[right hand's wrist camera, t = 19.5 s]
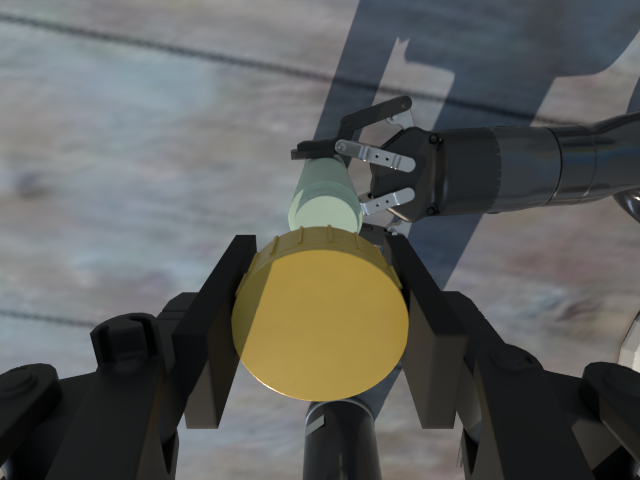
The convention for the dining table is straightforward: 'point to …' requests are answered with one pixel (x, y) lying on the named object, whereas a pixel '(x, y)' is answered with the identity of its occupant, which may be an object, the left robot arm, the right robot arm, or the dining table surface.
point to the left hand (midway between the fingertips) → (295, 182)
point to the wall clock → (631, 348)
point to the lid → (320, 315)
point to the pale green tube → (325, 197)
